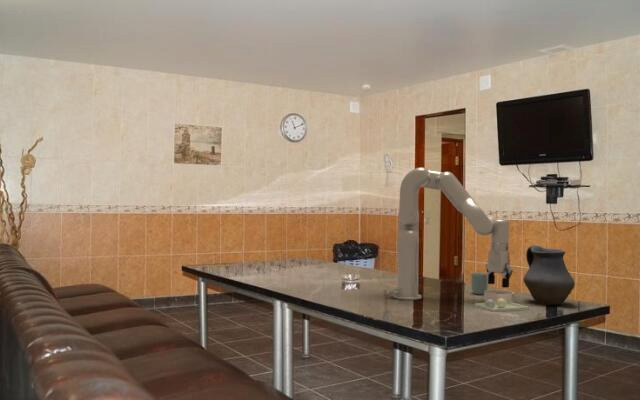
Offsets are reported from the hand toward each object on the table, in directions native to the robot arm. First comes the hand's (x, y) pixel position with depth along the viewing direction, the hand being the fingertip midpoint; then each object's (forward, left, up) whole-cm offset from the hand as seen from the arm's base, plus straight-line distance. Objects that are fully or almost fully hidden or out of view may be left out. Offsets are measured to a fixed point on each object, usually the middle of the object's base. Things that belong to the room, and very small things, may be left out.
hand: (498, 285), depth 238 cm
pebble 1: (-15, -14, -7) cm, 22 cm away
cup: (+5, +20, -7) cm, 22 cm away
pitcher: (+19, -9, -7) cm, 22 cm away
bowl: (0, -1, -7) cm, 7 cm away
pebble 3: (-9, -14, -7) cm, 18 cm away
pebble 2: (+1, 0, -7) cm, 7 cm away
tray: (-9, -14, -7) cm, 19 cm away
